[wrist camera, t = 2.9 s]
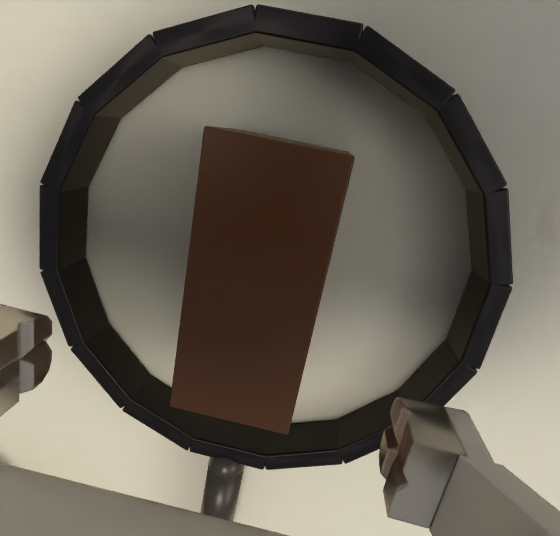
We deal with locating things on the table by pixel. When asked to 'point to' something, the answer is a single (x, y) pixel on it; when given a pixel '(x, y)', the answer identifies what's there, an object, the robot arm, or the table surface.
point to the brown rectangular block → (255, 273)
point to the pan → (116, 355)
